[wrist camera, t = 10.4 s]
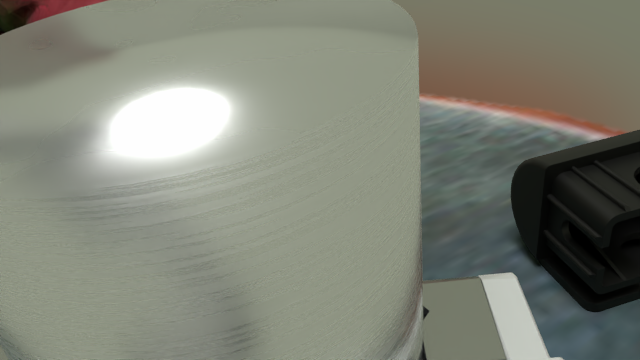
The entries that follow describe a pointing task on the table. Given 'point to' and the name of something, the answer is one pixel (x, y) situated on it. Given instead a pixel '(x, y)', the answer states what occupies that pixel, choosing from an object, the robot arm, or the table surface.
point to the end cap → (585, 218)
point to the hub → (212, 182)
